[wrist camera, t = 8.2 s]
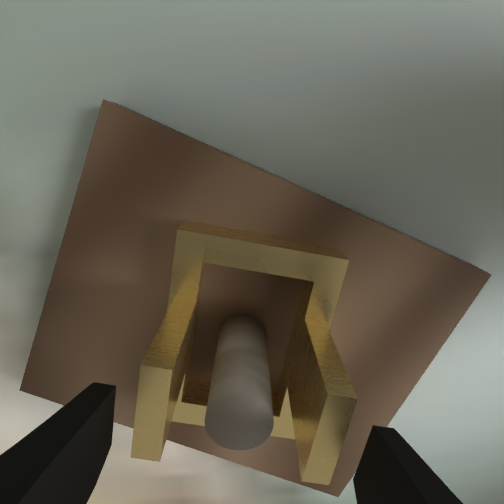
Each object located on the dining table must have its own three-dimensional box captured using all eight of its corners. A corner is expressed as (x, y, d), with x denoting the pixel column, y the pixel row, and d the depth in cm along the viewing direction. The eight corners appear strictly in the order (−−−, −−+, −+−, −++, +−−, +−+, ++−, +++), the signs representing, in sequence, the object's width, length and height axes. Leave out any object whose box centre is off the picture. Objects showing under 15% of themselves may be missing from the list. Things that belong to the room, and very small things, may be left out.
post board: (472, 264, 15) (610, 340, 9) (332, 475, 18) (369, 623, 13) (116, 103, 13) (9, 71, 7) (35, 373, 17) (-79, 494, 11)
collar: (338, 247, 13) (395, 314, 8) (293, 413, 16) (315, 546, 11) (185, 220, 13) (141, 270, 8) (162, 393, 15) (116, 521, 10)
